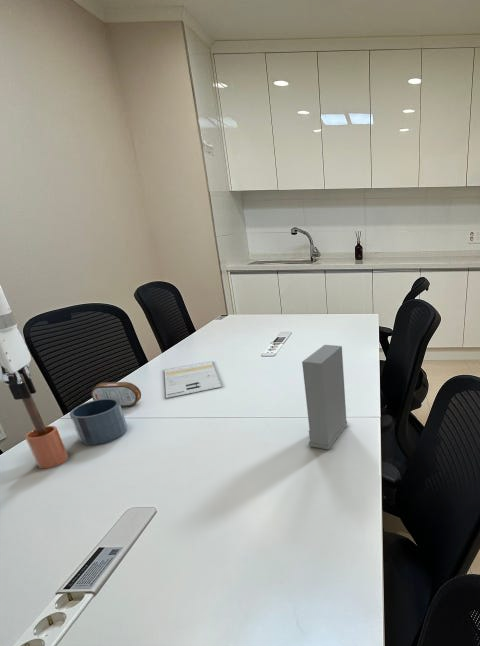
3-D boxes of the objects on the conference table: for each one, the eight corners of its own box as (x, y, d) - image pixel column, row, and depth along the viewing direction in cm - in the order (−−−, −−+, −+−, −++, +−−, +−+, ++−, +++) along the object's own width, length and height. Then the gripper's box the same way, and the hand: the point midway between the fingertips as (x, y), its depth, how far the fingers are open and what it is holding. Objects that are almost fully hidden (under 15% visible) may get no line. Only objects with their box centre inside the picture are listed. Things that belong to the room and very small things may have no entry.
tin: (144, 402, 134) (137, 380, 130) (140, 406, 131) (133, 384, 127) (99, 404, 133) (91, 382, 130) (94, 409, 130) (86, 386, 127)
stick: (35, 435, 98) (9, 377, 92) (39, 431, 100) (13, 374, 93) (44, 433, 99) (19, 376, 92) (48, 429, 100) (23, 373, 94)
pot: (73, 449, 108) (62, 420, 104) (88, 428, 118) (78, 401, 115) (122, 441, 111) (112, 413, 107) (132, 421, 122) (124, 395, 118)
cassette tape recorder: (328, 422, 118) (321, 344, 108) (347, 425, 116) (342, 345, 106) (308, 446, 106) (298, 361, 96) (328, 450, 104) (321, 363, 94)
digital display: (211, 361, 168) (221, 386, 144) (211, 362, 168) (221, 386, 144) (164, 369, 161) (166, 397, 136) (164, 370, 161) (166, 398, 136)
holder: (33, 470, 99) (19, 440, 95) (45, 456, 105) (32, 428, 101) (62, 465, 101) (50, 436, 97) (72, 452, 106) (60, 424, 103)
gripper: (-7, 316, 93) (23, 385, 101) (-51, 334, 79) (-11, 413, 87) (29, 313, 95) (57, 381, 103) (-7, 330, 81) (28, 407, 89)
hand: (25, 395), depth 95 cm, fingers closed on stick, 2 cm apart
